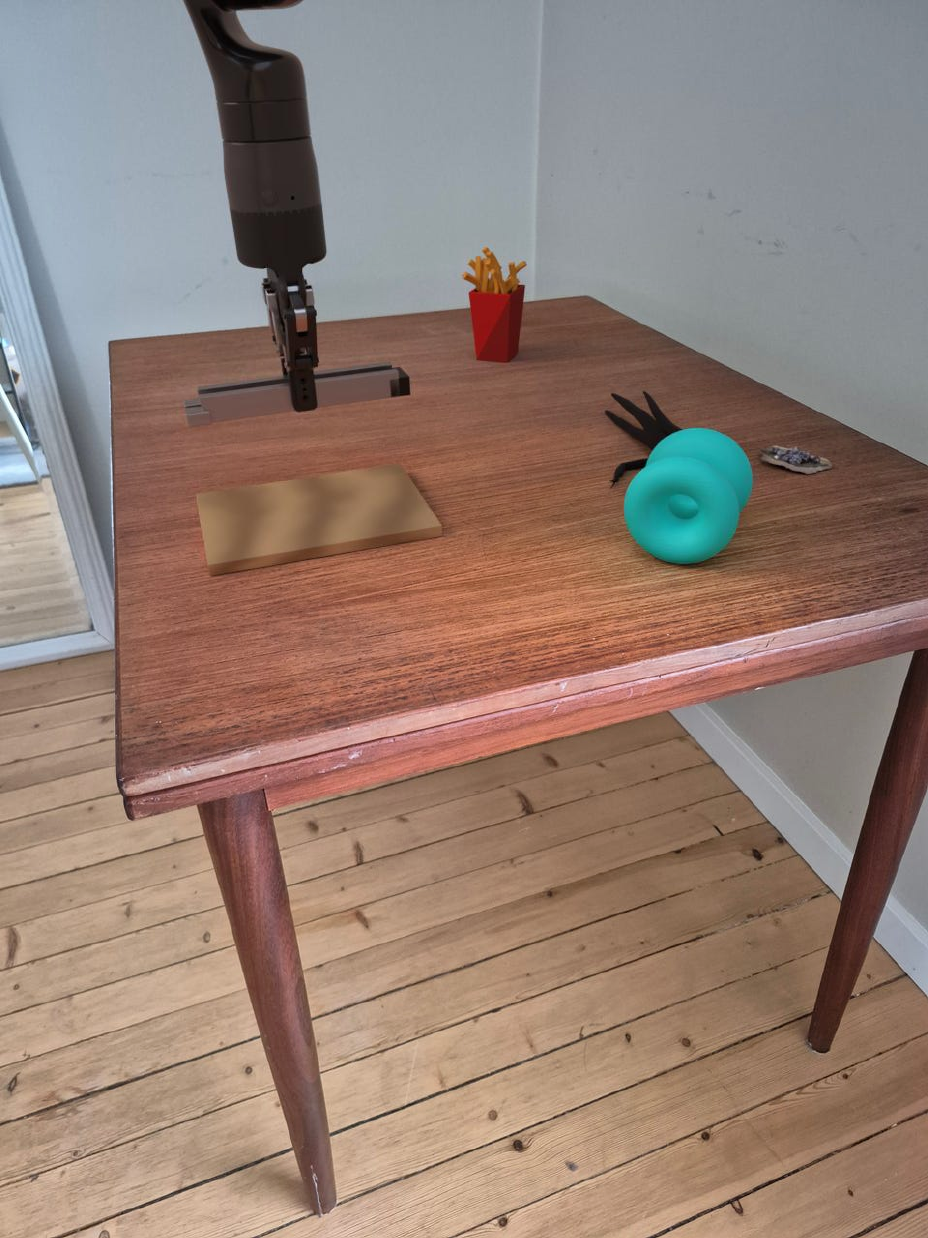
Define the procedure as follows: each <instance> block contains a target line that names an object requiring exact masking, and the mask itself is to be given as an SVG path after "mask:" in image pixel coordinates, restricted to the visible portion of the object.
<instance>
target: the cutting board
mask: <svg viewBox="0 0 928 1238" xmlns="http://www.w3.org/2000/svg"><path fill="white" fill-rule="evenodd" d="M195 499H196V505H197V510H198V516H199V522H200V528H201V535H202V540H203V546H204V547H203V548H204V553H205V559H206V565H207V570H208V575H209V577H213V576H218V575H224V574H230V573H235V572H241V571H247V570H253V569H259V568H265V567H271V566H276V565H282V564H283V565H284V564H289V563H294V562H301V561H306V560H311V559H317V558H322V557H329V556H334V555H335V556H336V555H340V554H341V555H342V554H346V553H350V552H351V553H352V552H357V551H364V550H370V549H375V548H382V547H387V546H392V545H397V544H398V545H399V544H406V543H410V542H411V543H412V542H416V541H422V540H428V539H433V538H438V537H439V538H440V537H443V525H442V523H441V522H440V521H439V519H438V517H437V516H436V514H435V513H434V512H433V510H432V508H431V507H430V506H429V504H428V503H427V500H426V499H425V498H424V497H423V495H422V494H421V492H420V491H419V489H418V487H417V486H416V484H415V483H414V481H413V480H412V479H411V477H410V476H409V474H408V473H407V472H406V470H405V468H404V467H403V465H402V463H394V464H386V465H380V466H379V465H378V466H374V467H367V468H360V469H354V470H346V471H339V472H332V473H326V474H319V475H313V476H307V477H301V478H293V479H287V480H279V481H273V482H266V483H260V484H259V483H258V484H254V485H246V486H240V487H233V488H226V489H220V490H213V491H207V492H199V493H196V494H195Z"/></svg>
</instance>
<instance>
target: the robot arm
mask: <svg viewBox="0 0 928 1238" xmlns="http://www.w3.org/2000/svg"><path fill="white" fill-rule="evenodd" d="M304 1H305V0H182V2H183V4H184V7H185V9H186V11H187V13H188V16H189V18H190V21H191V23H192V26H193V29H194V31H195V34H196V37H197V39H198V42H199V45H200V49H201V50H202V54H203V56H204V60H205V63H206V65H207V68H208V72H209V74H210V77H211V81H212V85H213V89H214V90H213V91H214V95H215V102H216V111H217V115H218V122H219V128H220V135H221V139H222V153H223V175H224V181H225V187H226V193H227V200H228V206H229V213H230V220H231V226H232V232H233V239H234V245H235V251H236V258H237V260H238V262H239V263H240V264H242V265H243V266H244V267H248V268H252V269H258V270H259V269H260V270H264V269H266V277H263V278H262V282H261V283H260V289H261V295H262V299H263V301H264V304H265V306H266V313H267V314H266V315H267V322H268V327H269V330H270V332H271V334H272V335H271V339H272V342H274V345H275V346H276V347H275V352H276V353H277V355H278V357H279V358H280V365H281V372H282V375H288V378H289V385H290V392H291V400H292V406H293V408H294V410H295V411H294V412H296V413H305V412H310V411H312V412H313V411H315V410H317V409H318V408H317V406H318V404H317V395H316V387H315V379H314V371H315V369H316V368H319V363H320V359H319V358H320V357H319V353H318V352H319V348H318V333H317V332H318V328H317V327H318V326H317V316H318V312H317V311H318V310H317V309H316V308H315V307H316V306H315V303H316V302H315V295H314V288H313V286H312V284H308V280H307V278H305V276H304V273H303V269H304V268H305V267H306V266H307V265H313V264H317V263H319V262H321V261H323V260H325V258H326V256H327V253H328V250H327V241H326V232H325V223H324V214H323V213H324V212H323V203H322V194H321V185H320V176H319V175H320V174H319V167H318V161H317V157H316V153H315V149H314V144H313V138H312V130H311V123H310V112H309V103H308V102H309V101H308V91H307V82H306V75H305V70H304V66H303V63H302V61H301V59H300V58H299V57H298V56H297V55H296V54H294V53H293V52H291V51H288V50H285V49H281V48H276V47H271V46H268V45H264V44H259V43H257V42H255V41H253V40H252V39H251V38H250V37H249V35H248V34H247V32H246V31H245V29H244V28H243V25H242V24H241V22H240V19H239V17H238V14H237V12H243V11H244V12H245V11H247V12H248V11H265V10H267V11H271V10H274V11H275V10H286V9H290V8H294V7H296V6H298V5H300V4H301V3H302V2H304Z"/></svg>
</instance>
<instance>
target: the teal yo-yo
mask: <svg viewBox="0 0 928 1238" xmlns="http://www.w3.org/2000/svg"><path fill="white" fill-rule="evenodd" d="M647 458H648V460H647V463H646V467H645V468H642V469H640V471H639V472H637V474H636V475H635V476H634V477H633V478H632V480H631V482H630V484H629V485H628V487H627V489H626V492H625V494H624V495H625V496H624V501H623V518H624V521H625V524H626V528H627V530H628V531H629V533H630V535H631V537H632V538H633V540H634V541H635V543H637V545H639V547H640V548H641V549H643V550H644V552H646V553H648V554H649V555H650V556H652V557H654V558H656V559H658V560H660V561H664V562H666V563H669V564H670V563H671V564H676V565H690V564H691V565H693V564H697V563H702V562H704V561H707V560H710V559H712V558H713V557H715V556H716V555H718V554H719V553H720V552H722V551H723V550H724V549H725V548H726V547H727V546H728V545H729V543H730V542H731V540H732V539H733V537H734V536H735V533H736V531H737V528H738V524H739V519H740V513H742V512H743V510H744V509H745V507H746V506H747V504H748V503H749V500H750V498H751V495H752V491H753V485H754V476H753V470H752V466H751V463H750V460H749V458H748V456H747V454H746V453H745V451H744V449H743V448H742V447H741V446H740V445H739V444H738V443H737V442H736V441H735V440H734V439H733V438H731V437H730V436H729V435H726V434H724V433H722V432H720V431H717V430H714V429H711V428H705V427H691V428H690V427H689V428H686V429H683V430H681V431H678V432H675V433H673V434H671V435H669V436H668V437H666V438H665V439H663V440H662V441H661V442H660V443H659V444H658V445H657V446H656V447H655V448H654V450H653V451H652V450H651V452H650V454H649V455H648V457H647Z"/></svg>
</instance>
